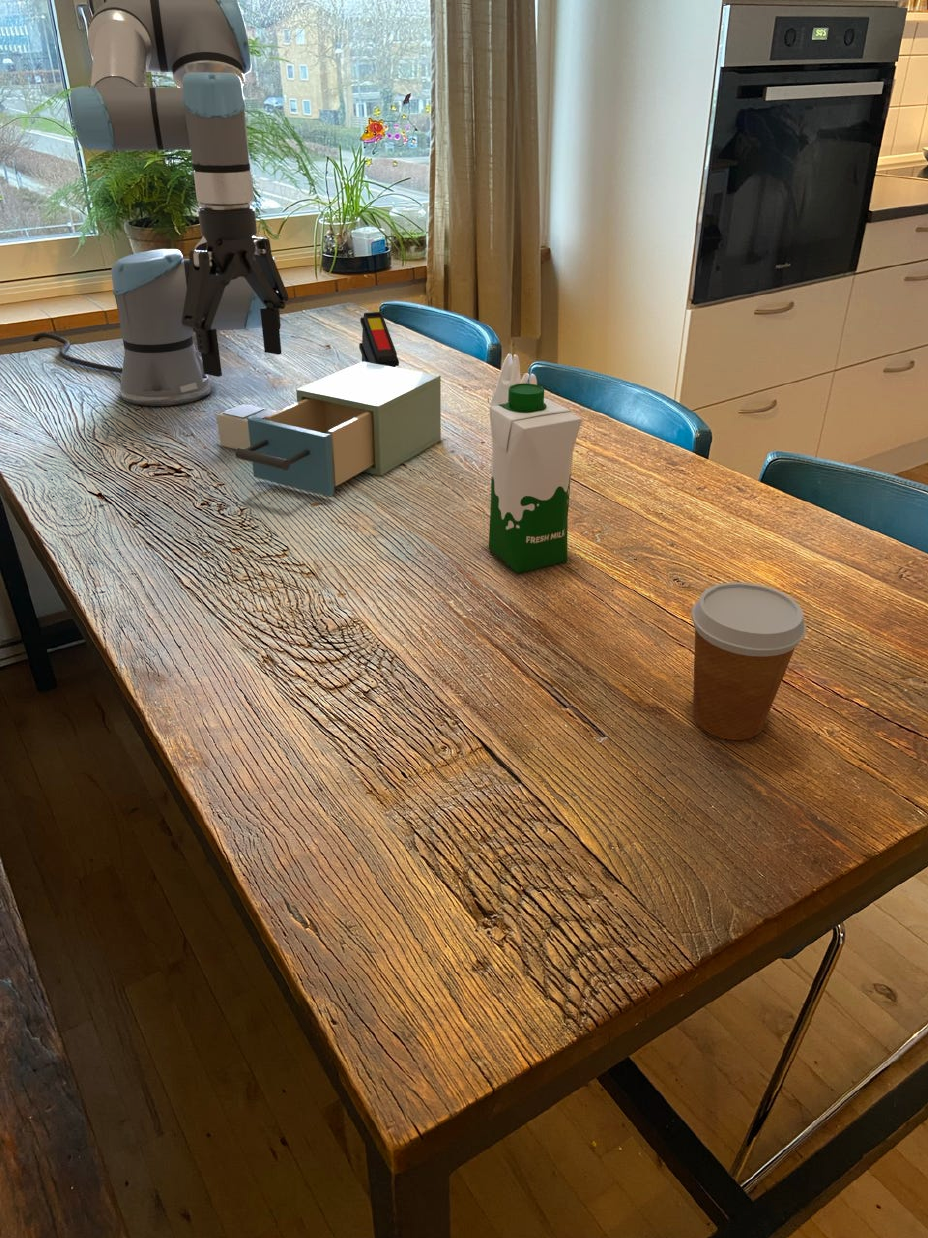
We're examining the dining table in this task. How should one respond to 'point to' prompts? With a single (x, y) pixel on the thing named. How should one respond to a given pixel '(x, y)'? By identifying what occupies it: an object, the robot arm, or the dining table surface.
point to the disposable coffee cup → (741, 655)
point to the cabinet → (387, 407)
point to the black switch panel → (377, 341)
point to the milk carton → (531, 478)
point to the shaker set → (509, 380)
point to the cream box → (238, 424)
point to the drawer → (311, 445)
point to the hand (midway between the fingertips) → (244, 363)
